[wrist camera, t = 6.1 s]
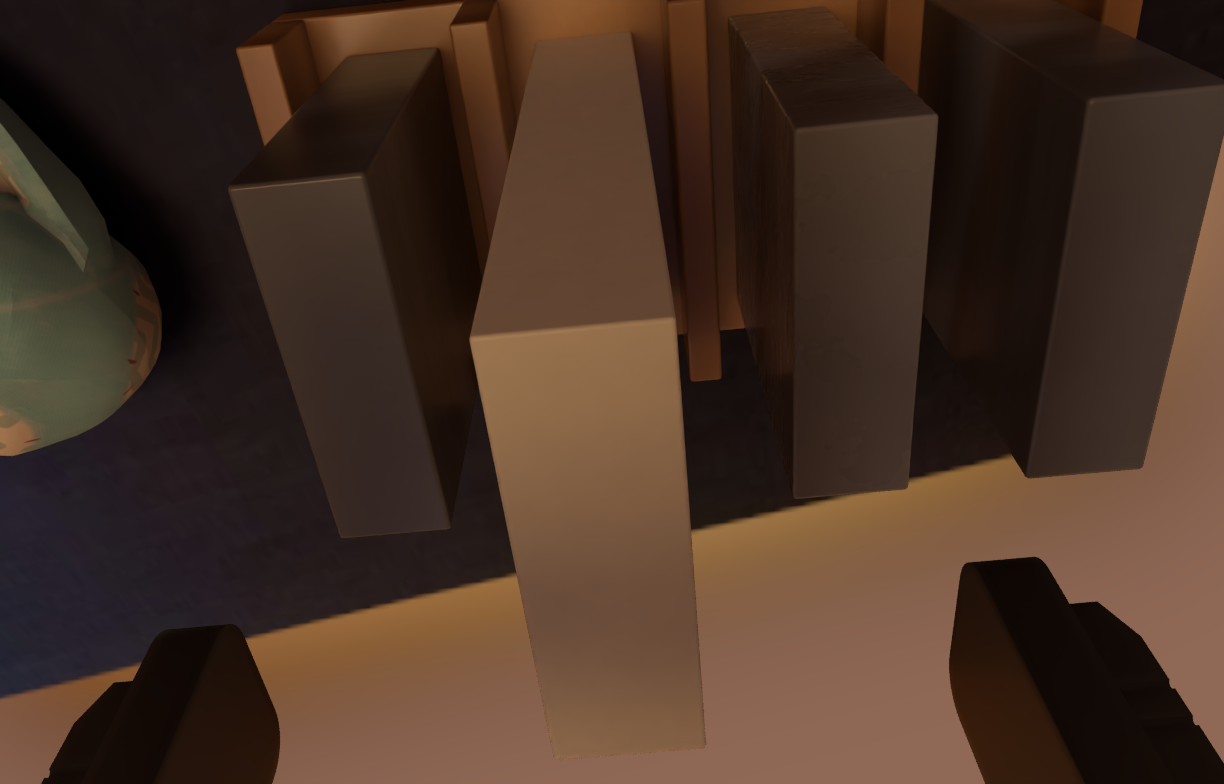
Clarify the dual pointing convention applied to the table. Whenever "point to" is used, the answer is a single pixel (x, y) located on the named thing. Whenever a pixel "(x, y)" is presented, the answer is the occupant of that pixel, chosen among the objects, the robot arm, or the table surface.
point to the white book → (591, 410)
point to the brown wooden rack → (744, 219)
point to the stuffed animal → (63, 301)
